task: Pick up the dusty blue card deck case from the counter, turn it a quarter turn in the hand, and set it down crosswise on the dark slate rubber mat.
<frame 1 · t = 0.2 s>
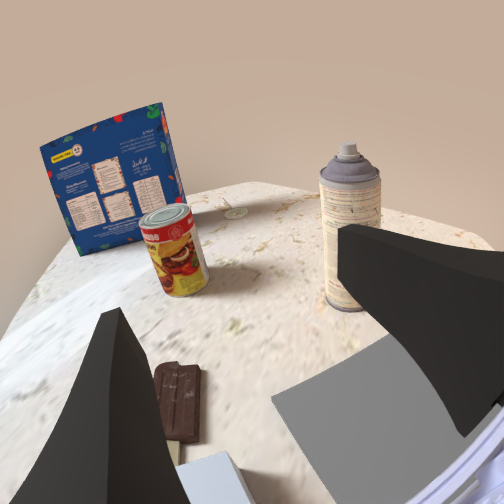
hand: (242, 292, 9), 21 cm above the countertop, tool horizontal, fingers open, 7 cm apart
pasta box: (134, 236, 69), on the countertop
canned food: (186, 282, 48), on the countertop
aerosol can: (350, 296, 39), on the countertop
mat: (410, 434, 21), on the countertop
sign: (231, 209, 72), on the countertop
ice cream bar: (176, 423, 27), on the countertop
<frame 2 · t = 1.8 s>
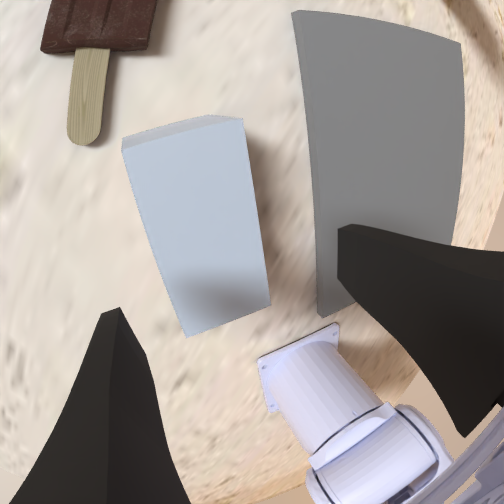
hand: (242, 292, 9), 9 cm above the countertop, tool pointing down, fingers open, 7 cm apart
mat: (403, 161, 21), on the countertop
ice cream bar: (104, 6, 10), on the countertop
deck case: (184, 204, 16), on the countertop
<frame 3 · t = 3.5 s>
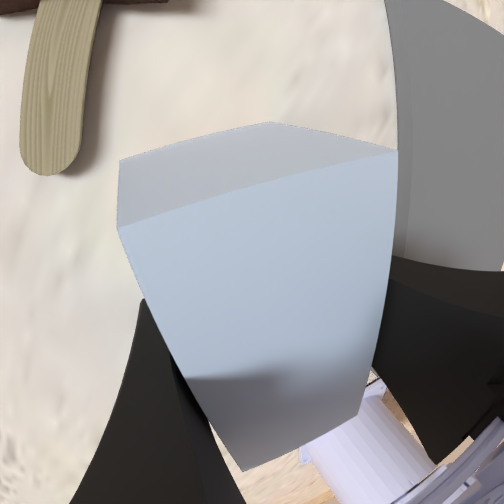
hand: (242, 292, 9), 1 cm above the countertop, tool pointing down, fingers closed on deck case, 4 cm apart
mat: (478, 190, 15), on the countertop
deck case: (226, 269, 10), on the countertop, touching gripper
when the fingers open (3 cm above the countertop, at t = 10.5 s): deck case drops 1 cm, resting on mat.
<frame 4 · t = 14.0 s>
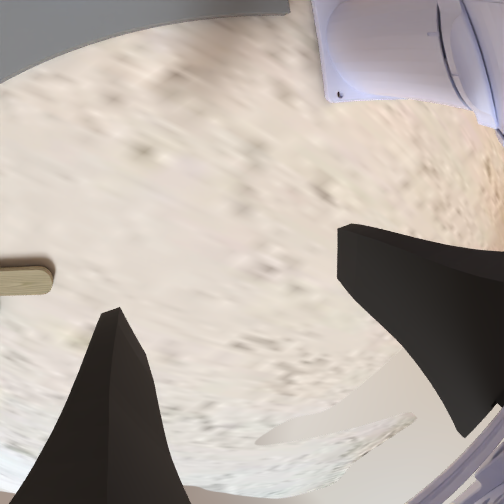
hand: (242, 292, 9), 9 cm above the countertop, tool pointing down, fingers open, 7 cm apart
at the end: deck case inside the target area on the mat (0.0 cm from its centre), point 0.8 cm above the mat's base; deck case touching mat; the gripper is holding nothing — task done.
